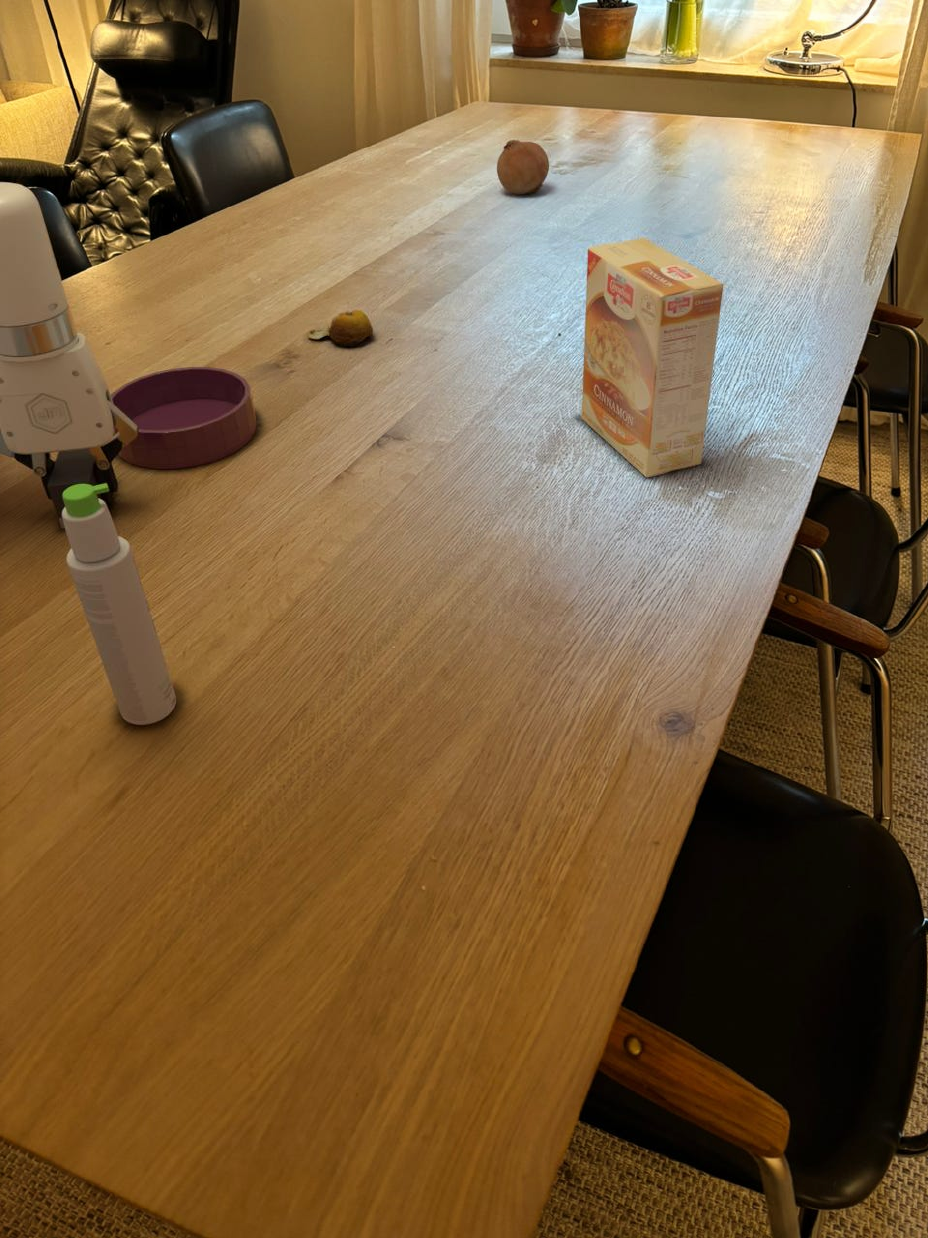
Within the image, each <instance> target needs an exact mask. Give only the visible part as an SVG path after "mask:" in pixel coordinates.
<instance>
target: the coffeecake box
mask: <svg viewBox="0 0 928 1238" xmlns="http://www.w3.org/2000/svg"><path fill="white" fill-rule="evenodd" d="M586 264H587V265H586V266H587V267H586V290H585V291H586V293H585V317H584V343H583V344H584V345H583V346H584V347H583V371H582V372H583V373H582V394H581V395H582V396H581V397H582V398H581V415H580V419H581V420H582V421H583V422H584V423H586V424H587V425H588V426H589V427H590V428H591V429H592V430H593V431H595V432H596V433H597V434H598V435H599V436H600V437H601V438H602V439H603V440H604V441H605V442H607V443H608V444H609V445H610V446H611V447H612V448H613V449H614V450H615V451H617V452H618V453H619V454H620V455H621V456H622V457H623V458H624V459H625V460H627V462H628V463H630V464H631V465H632V466H633V467H634V468H635V469H636V470H637V471H638V472H640V474H642V475H643V476H644V477H645V478H651V477H657V476H660V475H663V474H667V473H669V472H672V471H677V470H681V469H686V468H691V467H694V466H698V465H701V464H702V461H703V460H702V459H703V452H704V451H703V450H704V442H705V436H706V435H705V434H706V428H707V420H708V411H709V405H710V396H711V388H712V380H713V373H714V365H715V355H716V349H717V341H718V333H719V325H720V317H721V316H720V315H721V307H722V301H723V293H724V286H725V284H724V282H721V281H719V280H717V279H716V278H714V277H712V276H711V275H709V274H707V273H705V272H704V271H702V270H701V269H699V268H697V267H695V266H694V265H692V264H690V263H689V262H687V261H685V260H683V259H682V258H681V257H679V256H677V255H675V254H674V253H672V252H671V251H668V250H667V249H665V248H663V247H661V246H659V245H657V244H656V243H654V242H652V241H651V240H649V239H648V238H646V237H641V238H640V237H639V238H636V239H629V240H624V241H618V242H606V243H602V244H597V245H593V246H589V247H587V263H586Z"/></svg>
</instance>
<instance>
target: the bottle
mask: <svg viewBox="0 0 928 1238" xmlns="http://www.w3.org/2000/svg"><path fill="white" fill-rule="evenodd" d="M108 491H109V488H108V485H107V483H104V484H100V485H96V486H91V485H89V484H77V485H73V486H71V487H69V488H67V489H66V490H65V491H64V492H63V495H62V497H63V501H64V504H65V508H64V509H63V511H62V518H63V522H64V526H65V528H64V530H65V533H66V536H67V539H68V542H69V545H70V550H69V551H68V553H67V555H66V565H67V567H68V570H69V572H70V575H71V578H72V581H73V584H74V586H75V589H76V593H77V595H78V599H79V601H80V602H81V603H80V604H81V606H82V607H81V608H82V609H83V612H84V615H85V618H86V621H87V623H88V627H89V629H90V631H91V635H92V637H93V640H94V643H95V646H96V648H97V651H98V654H99V657H100V660H101V662H102V666H103V668H104V671H105V674H106V677H107V679H108V683H109V685H110V688H111V691H112V694H113V696H114V699H115V701H116V704H117V708H118V710H119V713H120V715H121V717H122V719H123V720H124V721H126V722H127V723H129V724H132V725H135V726H146V725H151V724H155V723H158V722H160V721H163V719H165V718H167V717H168V716H169V715H170V714H171V713H172V712H173V710H174V709H175V707H176V704H177V696H176V692H175V689H174V686H173V683H172V679H171V676H170V672H169V669H168V665H167V663H166V662H167V661H166V659H165V656H164V653H163V650H162V646H161V643H160V640H159V636H158V633H157V630H156V627H155V623H154V620H153V617H152V613H151V609H150V607H149V602H148V600H147V597H146V594H145V590H144V587H143V584H142V580H141V576H140V573H139V569H138V568H137V564H136V560H135V557H134V553H133V551H132V547H131V544H130V542H129V541H128V540H127V539H126V538H123V537H122V536H119V535H118V533H117V528H116V525H115V523H114V520H113V517H112V515H111V512H110V510H109V507H108V505H106V503H105V502H104V501H103V500H101V499H98V497H97V494H100V493H104V492H108Z"/></svg>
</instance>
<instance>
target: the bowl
mask: <svg viewBox="0 0 928 1238" xmlns="http://www.w3.org/2000/svg"><path fill="white" fill-rule="evenodd" d="M110 394H111V397H112V400H113V404H114V405H115V406H116V407H117V408H118V409H119V410H120V411H122V412H123V413H124V414H125V415H126V416H127V417H128V418H129V419H130V420H131V421H133V422H134V423H135V424H136V425H137V426H138V428H139V430H138V435H137V437H136V438H135V439H134V440H133V441H131V442H130V443H129V444H128V445H126V446H124V447H123V448H122V449H121V451H120V452H119V454H118V455H117V456H118V457H119V458H121V459H122V460H123V461H125V462H127V463H129V464H131V465H134V466H137V467H141V468H146V469H152V470H153V469H154V470H177V469H178V470H179V469H187V468H192V467H197V466H202V465H207V464H210V463H212V462H215V461H219V460H222V459H224V458H226V457H228V456H230V455H232V454H234V453H236V452H237V451H239V450H240V449H242V448H243V447H244V446H245V445H247V444H248V443H249V442H250V441H251V440H252V439H253V437H254V435H255V433H256V432H257V416H256V410H255V405H254V400H253V394H252V388H251V386H250V384H249V382H248V381H247V379H246V378H244V377H243V376H241V375H240V374H239V373H236V372H234V371H231V370H228V369H224V368H218V367H211V366H185V367H176V368H170V369H165V370H160V371H155V372H152V373H149V374H146V375H143V376H140V377H138V378H135V379H133V380H132V381H128V382H127V383H125V384H123V385H121V386H120V387H119V388H117V389H116V390H115V391H113V392H112V393H110ZM118 432H119V431H118V430H117V429H116V428H115V427H114V435H115V434H117V433H118Z"/></svg>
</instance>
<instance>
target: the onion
mask: <svg viewBox="0 0 928 1238" xmlns="http://www.w3.org/2000/svg"><path fill="white" fill-rule="evenodd" d="M505 144H506V145H504V147H503V150H502V152H501V153H500V155H499V156H498V158H497V161H496V173H497V178H498V181H499V183H500V184H501V186H502V188H503V189H504V190H505V191H506V192H509V193H510V194H512V195H528V196H530V195H533V194H536V193H537V192H538V191H539V190H540V189H541V188H542V187H543V186H544V184H543V183H544V182H545V180H546V179H547V177H548V174H549V171H550V161H549V157H548V154H547V152H546V151H545V149H544V148H543V147H542V146H541V145H540V144H539V143H537V142H533V141H520V140H519V139H511V140H509V141H507V142H506V143H505Z"/></svg>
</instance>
